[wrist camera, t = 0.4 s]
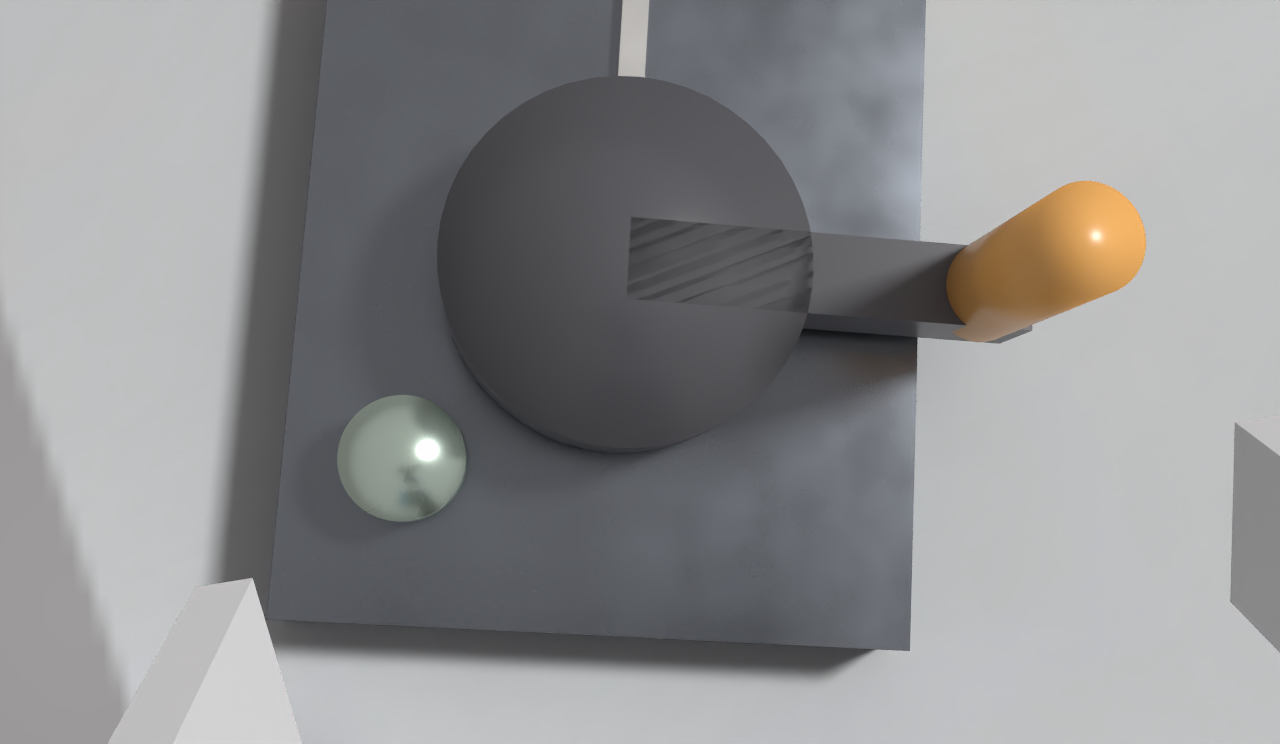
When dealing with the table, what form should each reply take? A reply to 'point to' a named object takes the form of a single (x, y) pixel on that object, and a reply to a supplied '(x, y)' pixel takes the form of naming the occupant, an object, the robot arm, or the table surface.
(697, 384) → the domed crank handle
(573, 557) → the base
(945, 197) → the table surface
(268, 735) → the robot arm
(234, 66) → the table surface
